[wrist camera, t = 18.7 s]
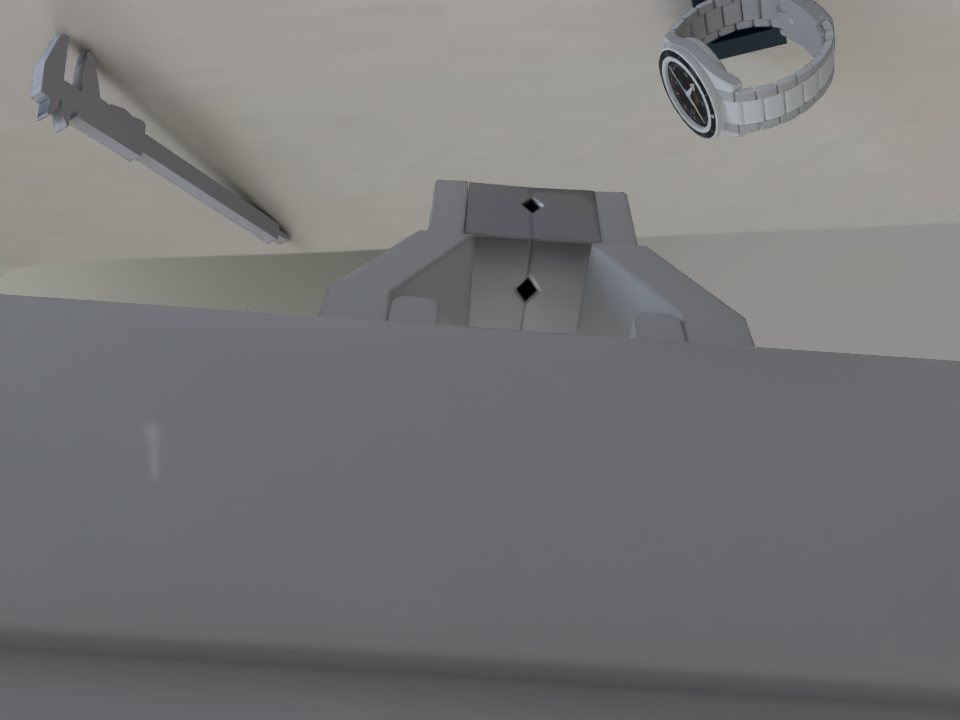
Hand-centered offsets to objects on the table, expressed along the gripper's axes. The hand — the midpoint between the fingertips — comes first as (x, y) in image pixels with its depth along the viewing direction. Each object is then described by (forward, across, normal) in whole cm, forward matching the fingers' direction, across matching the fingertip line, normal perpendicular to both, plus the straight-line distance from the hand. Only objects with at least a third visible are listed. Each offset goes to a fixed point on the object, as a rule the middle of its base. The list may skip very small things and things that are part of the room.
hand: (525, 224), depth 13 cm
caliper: (+41, +21, +20) cm, 50 cm away
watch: (+36, -12, +6) cm, 38 cm away
